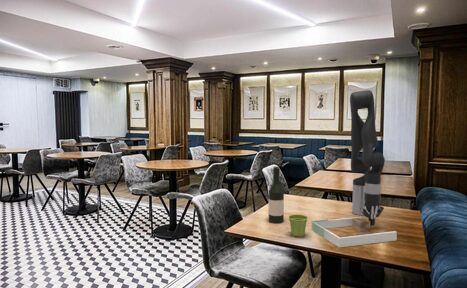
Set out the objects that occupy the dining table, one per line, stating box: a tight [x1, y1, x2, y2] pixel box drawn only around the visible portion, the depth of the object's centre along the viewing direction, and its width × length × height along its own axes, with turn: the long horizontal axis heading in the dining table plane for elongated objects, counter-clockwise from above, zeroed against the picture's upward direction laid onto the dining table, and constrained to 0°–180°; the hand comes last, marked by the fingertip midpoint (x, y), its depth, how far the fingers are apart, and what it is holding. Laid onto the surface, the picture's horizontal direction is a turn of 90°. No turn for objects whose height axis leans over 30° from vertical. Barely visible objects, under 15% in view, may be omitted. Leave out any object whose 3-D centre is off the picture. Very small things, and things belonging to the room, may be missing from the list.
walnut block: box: [351, 217, 371, 233], centre depth 160 cm, size 6×6×5 cm
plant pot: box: [287, 213, 309, 238], centre depth 152 cm, size 9×9×9 cm
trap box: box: [310, 216, 398, 248], centre depth 152 cm, size 30×24×5 cm
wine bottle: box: [268, 166, 285, 225], centre depth 172 cm, size 8×8×30 cm
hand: (371, 225), depth 161 cm, fingers closed
